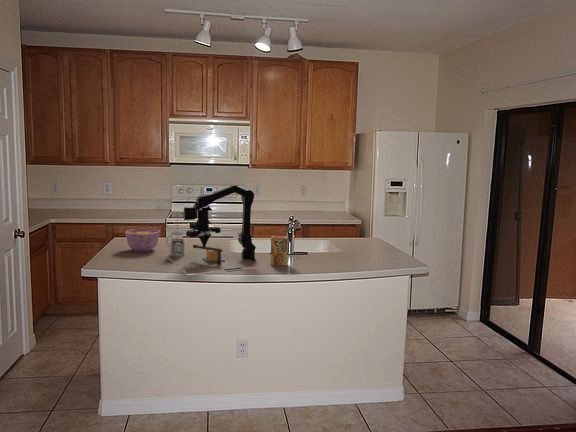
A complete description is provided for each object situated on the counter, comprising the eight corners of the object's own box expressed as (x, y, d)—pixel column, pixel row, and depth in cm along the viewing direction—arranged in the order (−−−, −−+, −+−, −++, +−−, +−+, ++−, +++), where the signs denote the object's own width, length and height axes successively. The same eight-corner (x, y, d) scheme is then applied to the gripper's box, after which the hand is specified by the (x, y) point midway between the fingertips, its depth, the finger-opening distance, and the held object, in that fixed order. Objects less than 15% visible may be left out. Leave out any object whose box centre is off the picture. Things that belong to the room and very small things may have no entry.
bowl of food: (119, 249, 297) (119, 230, 296) (150, 245, 311) (150, 227, 309) (134, 255, 283) (133, 235, 281) (166, 251, 296) (166, 232, 294)
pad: (236, 266, 266) (236, 265, 266) (243, 269, 258) (243, 269, 258) (220, 267, 262) (220, 266, 261) (226, 271, 254) (226, 270, 254)
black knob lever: (222, 263, 265) (223, 248, 264) (220, 264, 263) (220, 249, 262) (195, 258, 274) (195, 244, 273) (192, 259, 272) (192, 244, 271)
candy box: (286, 263, 274) (287, 236, 271) (286, 265, 269) (287, 237, 267) (270, 263, 274) (271, 236, 271) (270, 265, 269) (271, 237, 267)
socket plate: (218, 258, 282) (218, 255, 282) (231, 266, 265) (231, 262, 265) (198, 259, 277) (198, 256, 277) (210, 268, 259) (210, 265, 259)
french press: (182, 259, 278) (181, 214, 274) (162, 257, 280) (162, 213, 277) (189, 255, 288) (188, 212, 284) (170, 253, 290) (169, 211, 286)
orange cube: (216, 258, 277) (216, 248, 276) (220, 261, 271) (220, 250, 270) (206, 259, 274) (206, 249, 273) (210, 262, 268) (210, 251, 268)
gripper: (209, 214, 280) (210, 242, 282) (180, 219, 267) (181, 247, 270) (220, 217, 271) (221, 245, 274) (191, 222, 259) (192, 251, 262)
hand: (204, 247), depth 270 cm, fingers closed
